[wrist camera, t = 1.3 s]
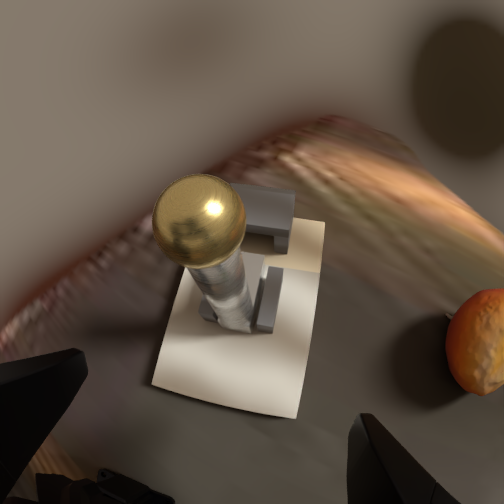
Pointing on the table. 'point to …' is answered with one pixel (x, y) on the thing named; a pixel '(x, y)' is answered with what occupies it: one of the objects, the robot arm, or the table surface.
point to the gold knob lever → (211, 245)
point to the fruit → (477, 342)
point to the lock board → (265, 323)
